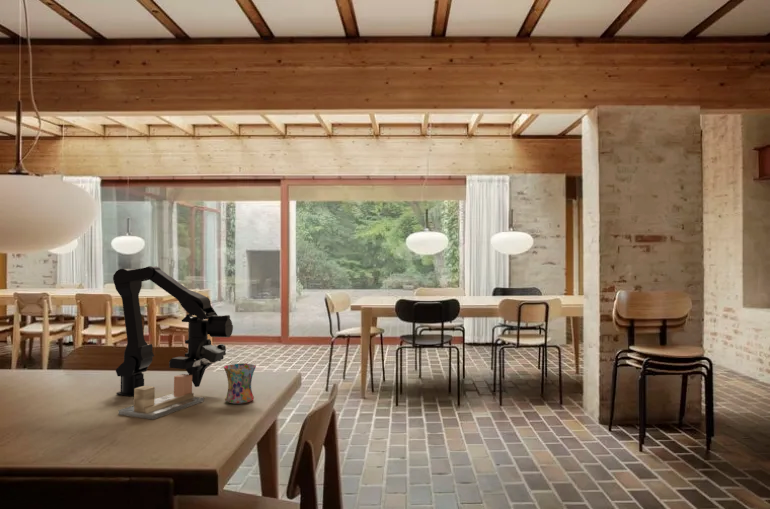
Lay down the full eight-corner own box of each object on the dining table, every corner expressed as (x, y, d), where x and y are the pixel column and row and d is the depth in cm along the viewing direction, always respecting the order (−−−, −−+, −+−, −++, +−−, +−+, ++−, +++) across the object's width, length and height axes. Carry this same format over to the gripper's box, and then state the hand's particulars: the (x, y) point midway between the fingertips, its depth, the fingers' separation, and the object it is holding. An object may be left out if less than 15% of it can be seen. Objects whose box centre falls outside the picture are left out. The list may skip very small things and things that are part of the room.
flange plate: (118, 414, 144) (118, 409, 144) (171, 397, 163) (171, 393, 163) (152, 419, 140) (152, 414, 140) (203, 401, 159) (203, 397, 159)
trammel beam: (133, 410, 144) (133, 388, 144) (180, 395, 160) (180, 375, 161) (147, 412, 142) (147, 390, 142) (193, 397, 159) (193, 377, 159)
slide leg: (173, 396, 158) (174, 376, 158) (182, 393, 161) (182, 374, 161) (183, 397, 157) (183, 377, 157) (191, 394, 160) (192, 374, 160)
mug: (257, 404, 156) (258, 368, 157) (225, 407, 153) (226, 370, 153) (251, 394, 167) (251, 361, 168) (220, 397, 164) (221, 362, 164)
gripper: (198, 342, 153) (197, 396, 153) (237, 334, 171) (236, 382, 171) (168, 339, 157) (167, 392, 157) (209, 332, 175) (208, 379, 175)
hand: (197, 386), depth 165 cm, fingers closed
